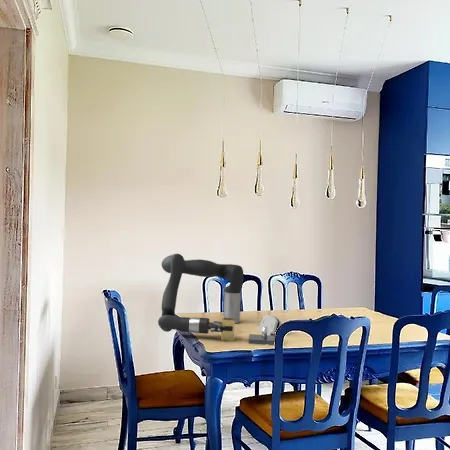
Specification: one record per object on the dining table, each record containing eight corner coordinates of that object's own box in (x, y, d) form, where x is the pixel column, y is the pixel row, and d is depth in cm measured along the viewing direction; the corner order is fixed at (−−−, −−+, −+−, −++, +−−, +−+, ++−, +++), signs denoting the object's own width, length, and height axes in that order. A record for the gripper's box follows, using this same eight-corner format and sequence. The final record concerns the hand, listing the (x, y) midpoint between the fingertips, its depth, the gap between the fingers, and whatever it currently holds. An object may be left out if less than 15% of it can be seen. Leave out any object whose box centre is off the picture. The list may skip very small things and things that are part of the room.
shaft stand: (249, 338, 237) (249, 324, 237) (279, 339, 236) (280, 325, 236) (248, 343, 226) (249, 328, 226) (280, 345, 225) (280, 330, 225)
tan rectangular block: (222, 337, 236) (222, 317, 236) (234, 338, 235) (234, 318, 235) (220, 340, 230) (221, 319, 230) (233, 341, 229) (234, 320, 229)
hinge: (256, 328, 259) (262, 311, 261) (263, 331, 261) (269, 314, 262) (269, 336, 244) (276, 317, 245) (277, 338, 245) (283, 320, 246)
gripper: (197, 320, 227) (232, 322, 225) (201, 315, 241) (234, 316, 240) (196, 336, 227) (231, 338, 225) (200, 329, 241) (233, 331, 240)
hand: (232, 327), depth 233 cm, fingers closed on tan rectangular block, 6 cm apart
